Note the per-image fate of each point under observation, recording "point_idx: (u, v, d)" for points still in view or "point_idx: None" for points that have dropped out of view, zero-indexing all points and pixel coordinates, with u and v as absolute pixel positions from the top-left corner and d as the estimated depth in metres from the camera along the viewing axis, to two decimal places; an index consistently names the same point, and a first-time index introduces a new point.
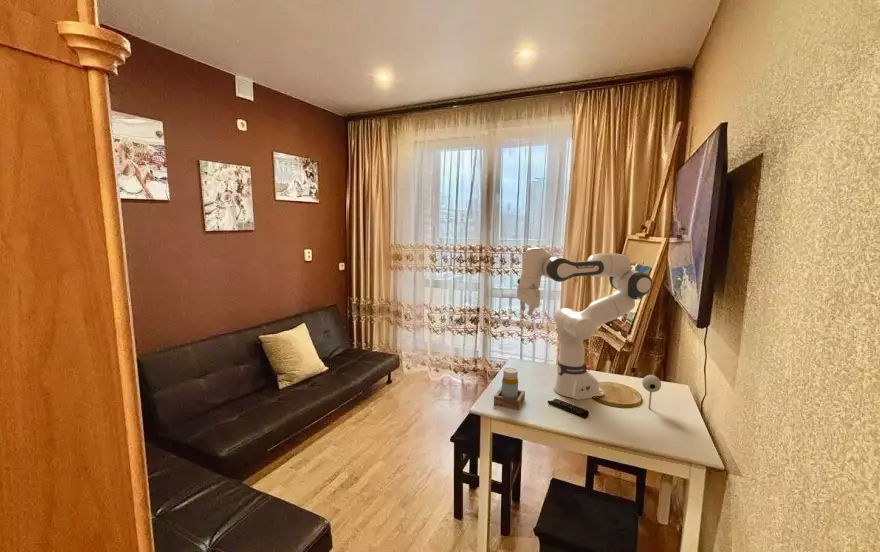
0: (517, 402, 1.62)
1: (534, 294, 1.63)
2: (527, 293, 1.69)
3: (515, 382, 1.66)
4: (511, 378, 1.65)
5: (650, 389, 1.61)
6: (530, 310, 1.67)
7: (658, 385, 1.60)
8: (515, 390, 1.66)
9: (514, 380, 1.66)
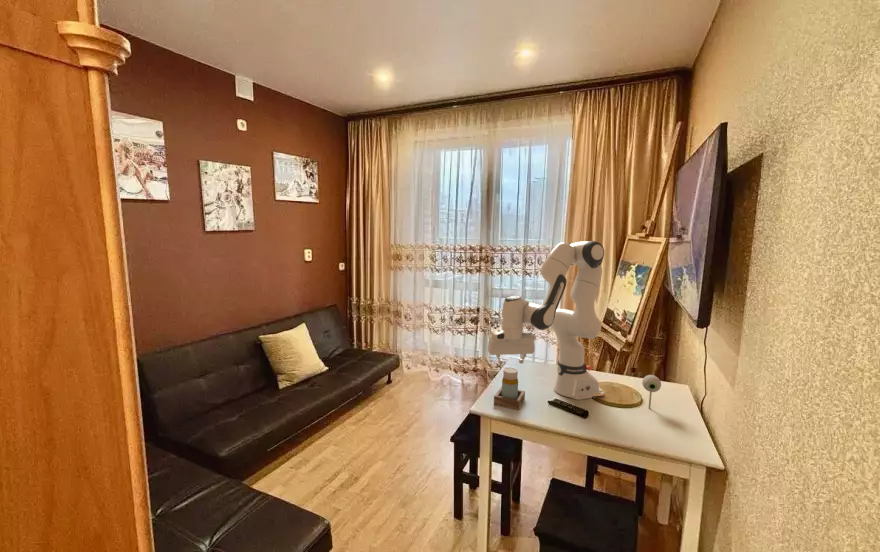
0: (517, 402, 1.62)
1: None
2: (518, 343, 1.65)
3: (515, 382, 1.66)
4: (511, 378, 1.65)
5: (650, 389, 1.61)
6: None
7: (658, 385, 1.60)
8: (515, 390, 1.66)
9: (514, 380, 1.66)
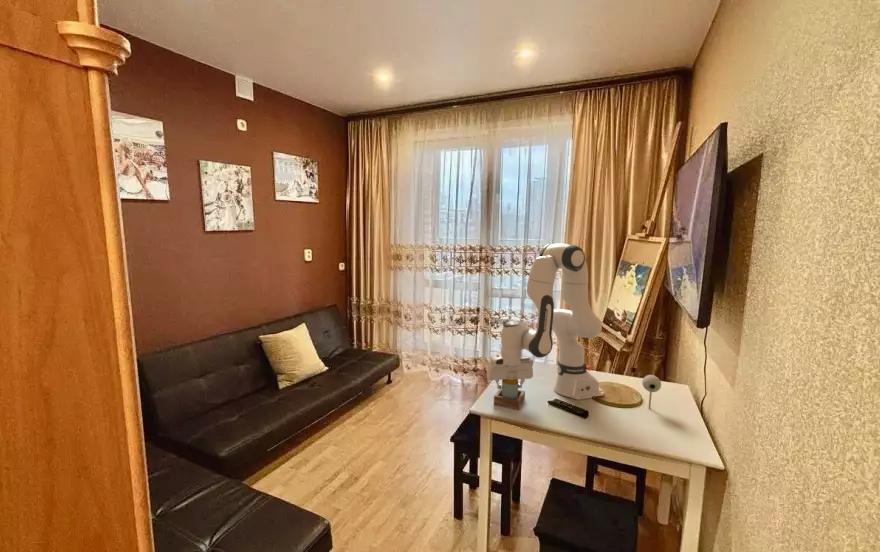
0: (517, 402, 1.62)
1: None
2: (516, 368, 1.66)
3: (515, 382, 1.66)
4: (511, 378, 1.65)
5: (650, 389, 1.61)
6: None
7: (658, 385, 1.60)
8: (515, 390, 1.66)
9: (514, 380, 1.66)
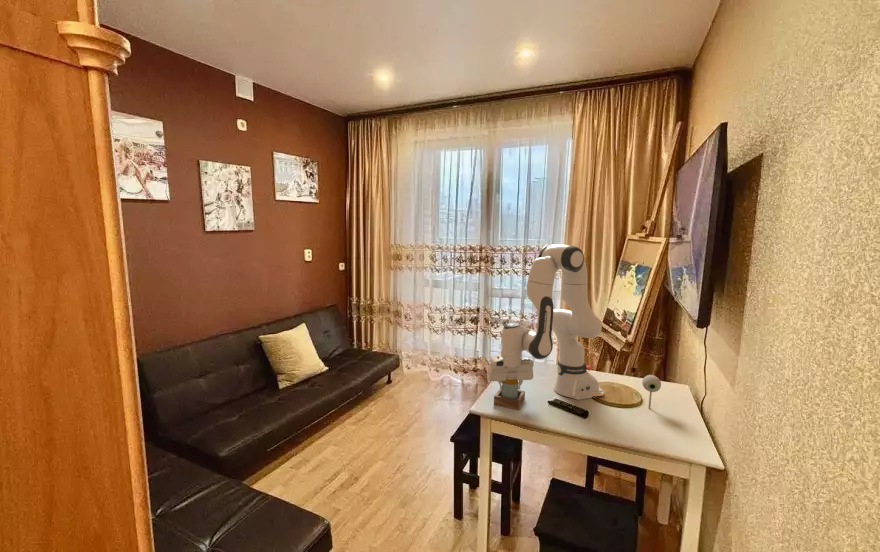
0: (517, 402, 1.62)
1: None
2: (517, 370, 1.67)
3: (515, 382, 1.66)
4: (511, 378, 1.65)
5: (650, 389, 1.61)
6: None
7: (658, 385, 1.60)
8: (515, 390, 1.66)
9: (514, 380, 1.66)
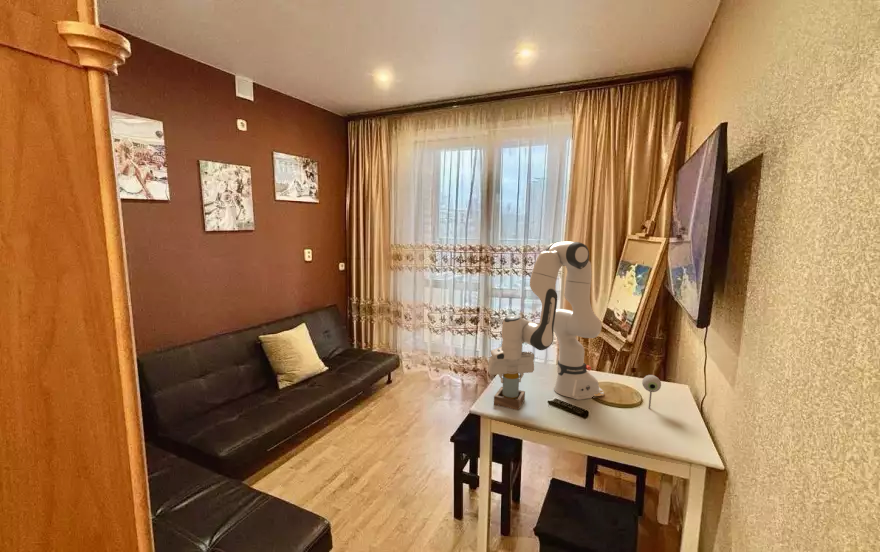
0: (517, 402, 1.62)
1: None
2: (517, 363, 1.66)
3: (516, 376, 1.65)
4: (512, 372, 1.65)
5: (650, 389, 1.61)
6: None
7: (658, 385, 1.60)
8: (516, 384, 1.66)
9: (515, 374, 1.65)
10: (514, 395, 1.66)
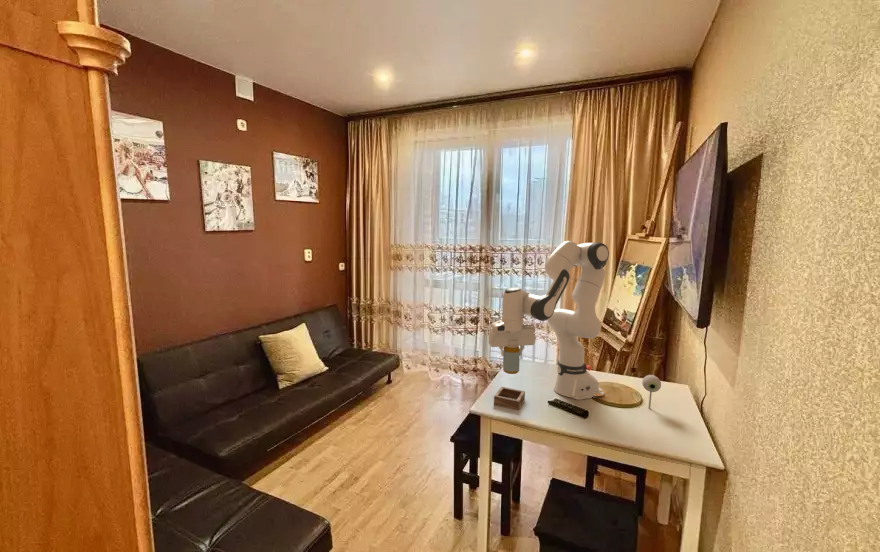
0: (517, 402, 1.62)
1: None
2: (518, 335, 1.64)
3: (517, 350, 1.64)
4: (513, 346, 1.63)
5: (650, 389, 1.61)
6: None
7: (658, 385, 1.60)
8: (517, 358, 1.64)
9: (516, 348, 1.64)
10: (515, 370, 1.64)
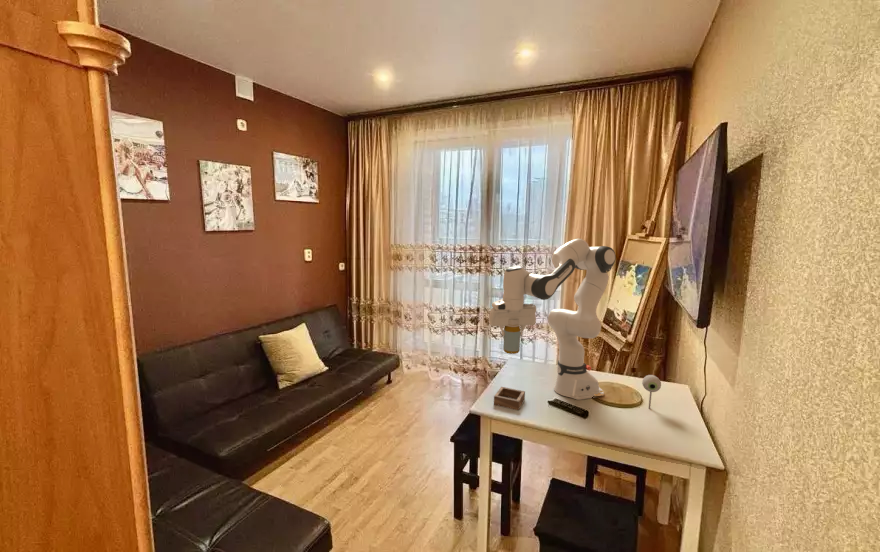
0: (517, 402, 1.62)
1: None
2: (519, 314, 1.63)
3: (517, 329, 1.62)
4: (513, 325, 1.62)
5: (650, 389, 1.61)
6: None
7: (658, 385, 1.60)
8: (517, 338, 1.63)
9: (516, 327, 1.62)
10: (515, 349, 1.63)
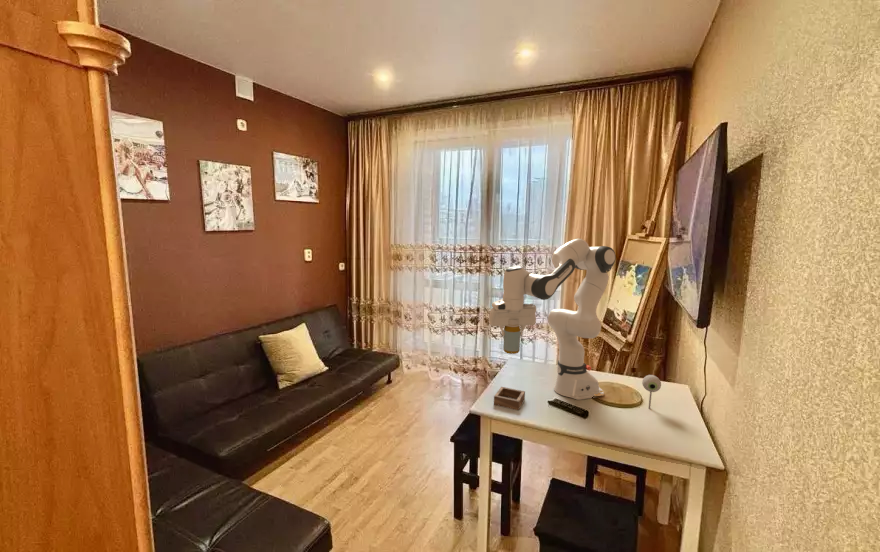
0: (517, 402, 1.62)
1: None
2: (519, 314, 1.63)
3: (517, 329, 1.62)
4: (513, 325, 1.62)
5: (650, 389, 1.61)
6: None
7: (658, 385, 1.60)
8: (517, 338, 1.63)
9: (516, 327, 1.62)
10: (515, 349, 1.63)
